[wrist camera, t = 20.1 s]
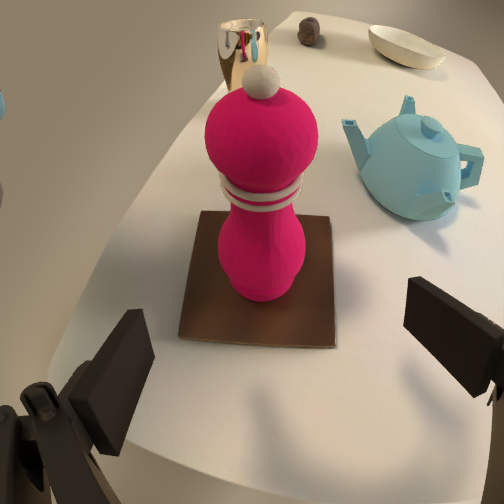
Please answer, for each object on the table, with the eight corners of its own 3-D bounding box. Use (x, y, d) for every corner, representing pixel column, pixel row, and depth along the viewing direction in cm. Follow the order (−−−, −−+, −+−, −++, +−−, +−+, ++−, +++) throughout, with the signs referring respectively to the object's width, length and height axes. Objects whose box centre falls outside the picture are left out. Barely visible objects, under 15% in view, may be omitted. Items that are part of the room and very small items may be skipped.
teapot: (414, 256, 30) (459, 194, 21) (326, 173, 37) (340, 101, 27) (466, 201, 35) (501, 147, 25) (393, 137, 41) (411, 80, 32)
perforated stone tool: (303, 31, 67) (304, 11, 61) (321, 34, 66) (323, 13, 60) (294, 47, 60) (295, 22, 54) (316, 50, 59) (318, 25, 53)
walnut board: (180, 338, 27) (177, 336, 26) (202, 215, 34) (200, 210, 33) (333, 348, 26) (336, 345, 25) (327, 221, 33) (329, 216, 32)
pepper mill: (245, 229, 31) (232, 36, 14) (311, 256, 30) (356, 60, 12) (209, 286, 28) (147, 89, 11) (279, 320, 26) (310, 125, 9)
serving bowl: (446, 88, 53) (454, 66, 47) (366, 63, 56) (371, 38, 50) (429, 59, 63) (434, 40, 57) (363, 39, 66) (366, 19, 60)
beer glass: (255, 124, 42) (252, 32, 29) (215, 114, 44) (205, 28, 31) (274, 104, 45) (276, 21, 32) (238, 95, 47) (232, 16, 34)
